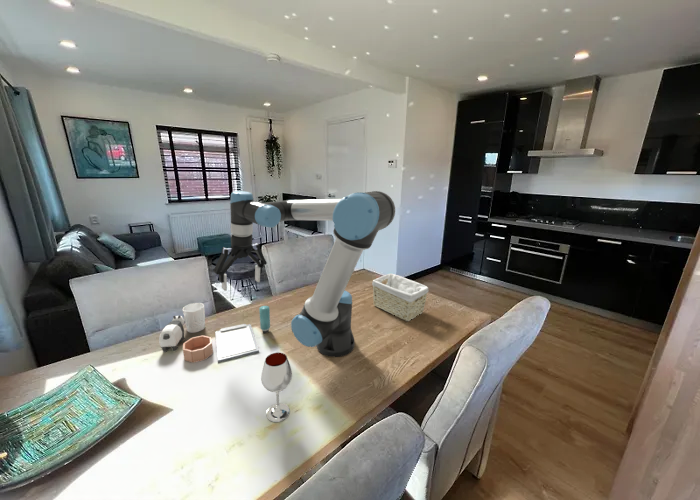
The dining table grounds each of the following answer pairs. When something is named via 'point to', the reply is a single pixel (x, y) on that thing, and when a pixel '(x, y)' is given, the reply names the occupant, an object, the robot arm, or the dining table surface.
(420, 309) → the storage basket
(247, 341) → the clipboard
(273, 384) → the wineglass
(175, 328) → the giant panda
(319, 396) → the dining table surface
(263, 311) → the teal cylinder
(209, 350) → the terracotta octagonal bowl
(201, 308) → the white cup
